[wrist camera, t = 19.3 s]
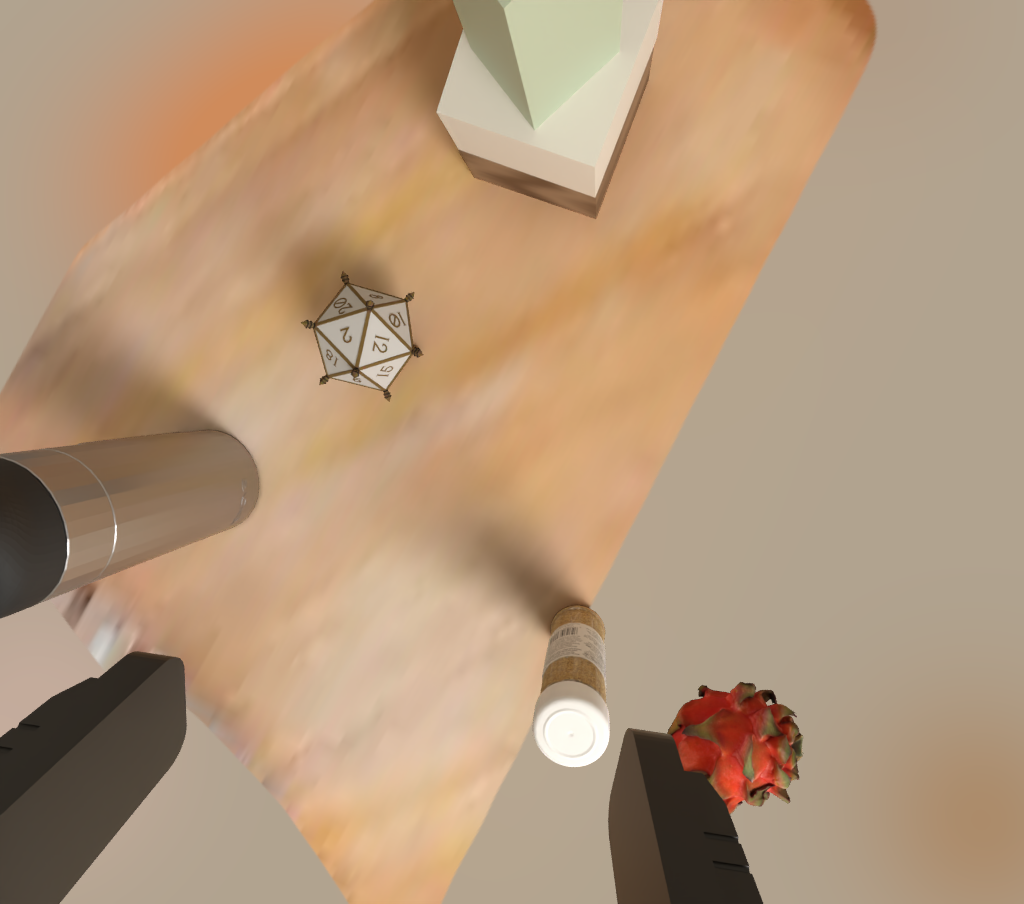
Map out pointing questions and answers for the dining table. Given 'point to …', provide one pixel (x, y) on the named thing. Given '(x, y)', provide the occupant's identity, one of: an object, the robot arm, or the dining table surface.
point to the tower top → (571, 128)
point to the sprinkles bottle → (573, 690)
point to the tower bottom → (550, 190)
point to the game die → (364, 337)
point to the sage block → (541, 46)
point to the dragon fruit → (739, 743)
